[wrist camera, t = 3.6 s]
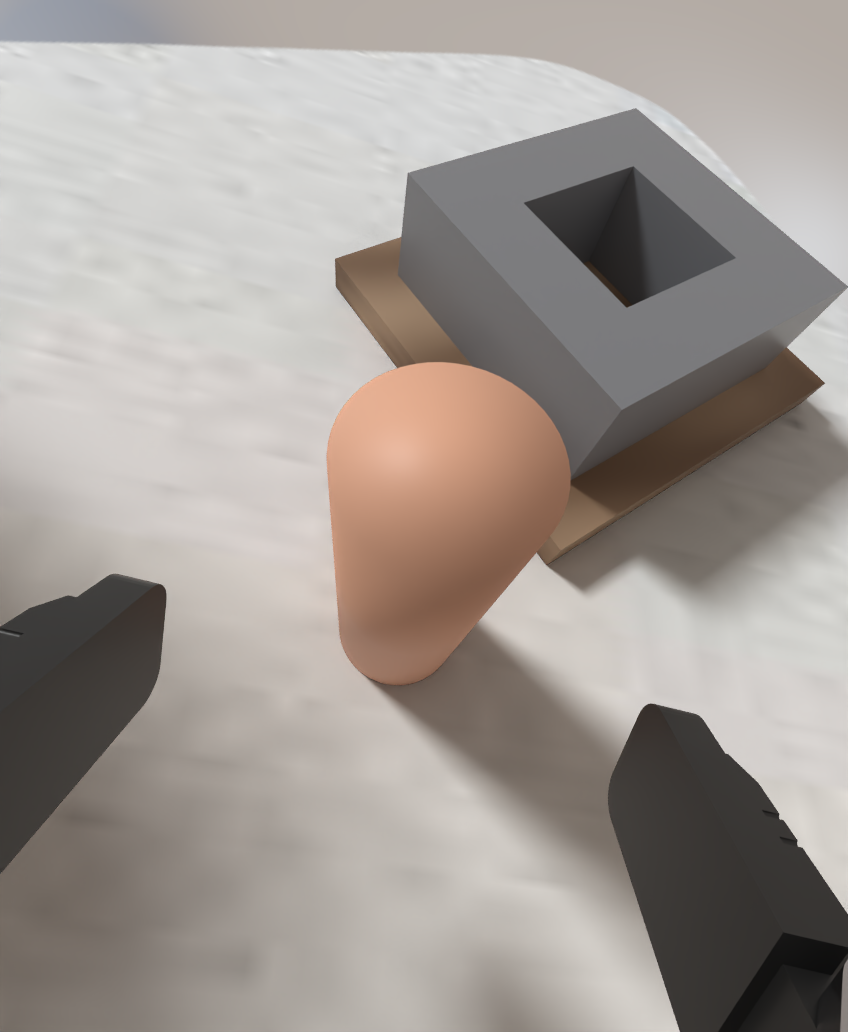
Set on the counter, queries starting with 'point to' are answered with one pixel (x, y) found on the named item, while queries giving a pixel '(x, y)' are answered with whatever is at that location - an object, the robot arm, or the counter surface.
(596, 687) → the counter surface
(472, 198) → the socket
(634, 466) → the socket board
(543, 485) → the peg
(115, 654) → the robot arm
